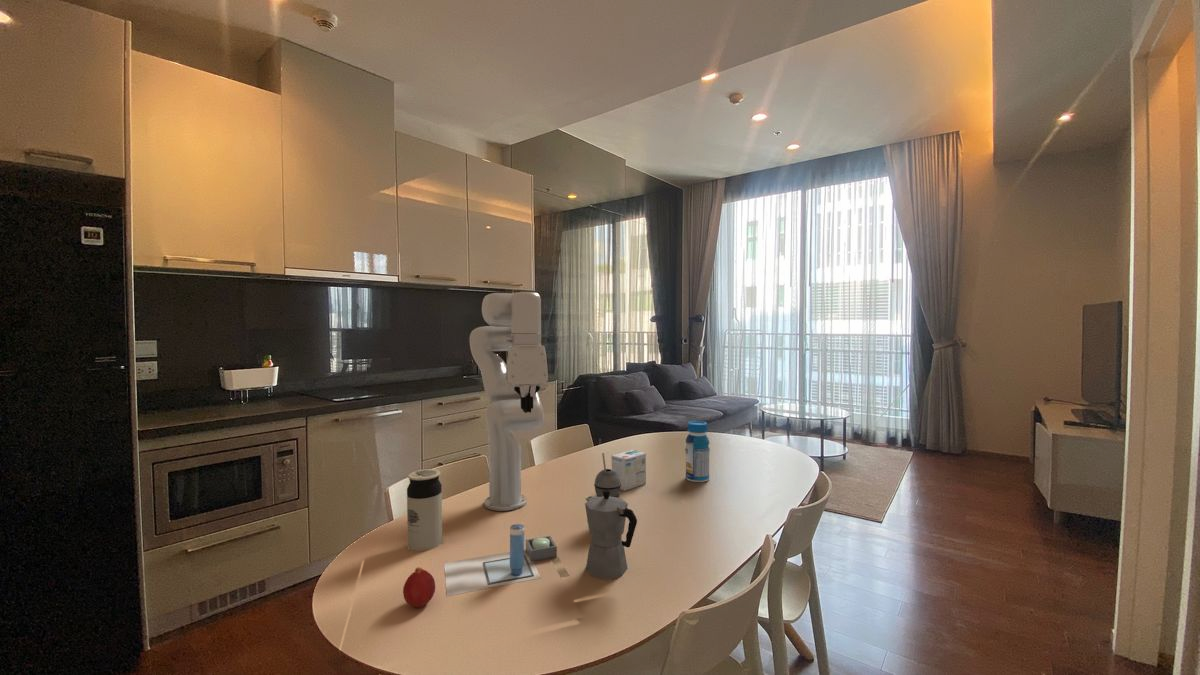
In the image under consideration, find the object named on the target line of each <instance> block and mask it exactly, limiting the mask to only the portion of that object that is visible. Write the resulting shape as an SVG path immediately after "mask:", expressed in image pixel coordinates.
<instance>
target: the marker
mask: <svg viewBox="0 0 1200 675" xmlns="http://www.w3.org/2000/svg"><path fill="white" fill-rule="evenodd" d="M525 527H526V526H525V525H524V524H521V523H515V524H511V525H510V526H509V552H510V568H511V575H513V576H519V575H521V574H522V567H523V566H524V549H525Z"/></svg>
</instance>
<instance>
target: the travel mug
mask: <svg viewBox="0 0 1200 675" xmlns="http://www.w3.org/2000/svg"><path fill="white" fill-rule="evenodd" d="M440 475H441V471H440V470H439V469H434V468H431V469H430V468H429V469H420V470H418V469H417V470H415V471H413V472H410V473H409V474H408V475H407V478H408V479H409V484H408V486H407V488H406V508H407V509H406V510H407V511H406V512H407V513H406V514H407V515H406V516H407V517H406V518H407V520H406V522H407V549H408V548H409V549H408V550H411V551H415V552H424V551H430V550H433V549H435V548H437V547H439V546H440V545H442V544H443V501H442V500H443V499H442V498H443V496H442V492H443V491H442V483H441V482H440V479H439V478H440Z"/></svg>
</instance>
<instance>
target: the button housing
mask: <svg viewBox="0 0 1200 675" xmlns="http://www.w3.org/2000/svg"><path fill="white" fill-rule="evenodd" d="M536 538H537V537H535V538H529V539H527V538H526V539H525V549H526V552H527V554H528V556H529V558H530V561H531V562H534V563H535V562H539V561H544V560H546V561H547V560H551V559H552V558H557V555H558V552H557V549H558V546H557V544H556V543H555V541H554V540H553V537H552V535H547V536H546V535H545V536H541V537H539V538H547V539H549V541H550V547H545V548H539V549H532V541H533V540H534V539H536Z"/></svg>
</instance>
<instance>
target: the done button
mask: <svg viewBox="0 0 1200 675" xmlns="http://www.w3.org/2000/svg"><path fill="white" fill-rule="evenodd" d="M535 538H536V539H534V538H533V539H534V540H533V541H532V549H539V548H545V547H550V541H549V539H547V538H540V537H535Z"/></svg>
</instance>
